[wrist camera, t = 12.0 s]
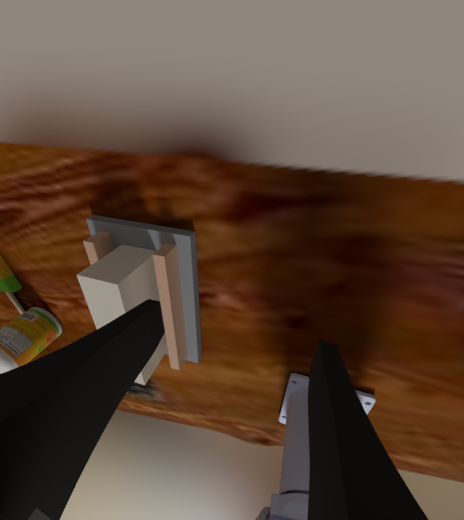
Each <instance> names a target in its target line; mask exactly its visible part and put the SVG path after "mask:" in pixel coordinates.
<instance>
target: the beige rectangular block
mask: <svg viewBox="0 0 464 520" xmlns="http://www.w3.org/2000/svg"><path fill="white" fill-rule="evenodd" d="M155 252H156V251H154V250H149V249H143V248H138V247H133V246H128V245H121V246H119V247H118V248H116V249H115V250H113V251H112V252H110V253H109V254H107V255H106V256H104V257H103V258H101V259H100V260H98V261H97V262H95V263H94V264H92V265H91V266H89V267H88V268H86V269H85V270H83V271H82V272H80V273H79V274H77V277H78V280H79V283H80V285H81V288H82V291H83V294H84V296H85V299H86V302H87V304H88V307H89V310H90V312H91V315H92V318H93V320H94V323H95V326H96V328H97V329H99V328H101V327H103V326H104V325H106V324H108V323H109V322H111V321H113V320H114V319H116V318H118V317H119V316H121V315H123V314H124V313H126V312H128V311H129V310H131V309H132V308H134V307H136V306H137V305H139V304H141V303H142V302H144V301H146V300H147V299H152V300H156V301H160V297H159V291H158V285H157V278H156V272H155V266H154V260H153V254H154V253H155ZM160 304H161V303H160ZM161 310H162V309H161ZM162 317H163V316H162ZM163 323H164V322H163ZM164 329H165V328H164ZM167 350H168V347H167V340H166V334H165V333H164V335H163V337H162V339H161V341H160V343H159V345H158V347H157V348H156V350H155V352H154V354H153V355H152V357H151V358H150V360H149V361H148V362H147V364H146V365H145V367H144V368H143V370H142V371H141V373H140V374H139V375H138V377H137V378H136V380H135V381H134V382H137V383H140V384H143V385H145V384H146V383H147V381H148V380H149V378H150V376H151V375H152V373H153V372H154V370H155V368H156V367H157V365H158V364H159V362H160V361H161V359H162V357H163V356H164V354H165V353H166V351H167Z"/></svg>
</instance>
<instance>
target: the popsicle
mask: <svg viewBox="0 0 464 520" xmlns="http://www.w3.org/2000/svg"><path fill="white" fill-rule="evenodd" d="M21 288H22V286H21V285H20V283H19V282H18V280H17V279H16V277H15V276H14V274H13V273H12V271H11V270H10V268H9V267H8V265H7V264H6V262H5V261H4V259H3V258H2V256H1V255H0V291H1V292H5V293H6V294H7V296H8V297H9V298H10V300H11V301H12V303H13V304H14V305H15V307H16V308H17V310H18V311H19V312H20V314H23V313H24V312H25V310H24V309H23V307H22V306H21V304H20V303H19V302H18V300H17V299H16V297H15V296H14V294H13V292H16V291H18V290H19V289H21Z"/></svg>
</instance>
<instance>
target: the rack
mask: <svg viewBox="0 0 464 520" xmlns="http://www.w3.org/2000/svg"><path fill="white" fill-rule="evenodd" d="M86 220H87V223H88V227H89V230H90V233H91V237H89V238H88V239H86V240H84V241H83V242H84V245H85V249H86V252H87V255H88V258H89V261H90V264H91V265H92V264H94V263H95V262H97V261H98V260H100V259H101V258H103V257H104V256H106V255H107V254H109V253H110V252H112V251H113V250H115V249H116V248H118V247H119V246H121V245H128V246H133V247H138V248H143V249H149V250H154V251H156V252H155V253H154V254H153V260H154V266H155V272H156V278H157V285H158V291H159V297H160V303H161V309H162V316H163V322H164V328H165V334H166V340H167V347H168V350H167V351H166V353H165V354H168V355H169V359H170V365H171V368H173V369H176V370H180V368H181V367H182V365H183V363H184V361H185V360H188V361H191V362H195V363H199V361H200V359H201V357H202V351H201V331H200V311H199V292H198V272H197V252H196V232H195V231H190V230H184V229H178V228H172V227H165V226H159V225H153V224H147V223H141V222H135V221H129V220H122V219H116V218H110V217H104V216H98V215H94V216H91V217H89V218H87V219H86Z"/></svg>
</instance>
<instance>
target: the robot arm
mask: <svg viewBox="0 0 464 520" xmlns="http://www.w3.org/2000/svg"><path fill="white" fill-rule="evenodd" d="M164 333H165V329H164V323H163V317H162V310H161V304H160V301H156V300H152V299H147V300H146V301H144V302H142V303H141V304H139V305H137V306H136V307H134V308H132V309H131V310H129V311H128V312H126V313H124V314H123V315H121V316H119V317H118V318H116V319H114V320H113V321H111V322H109V323H108V324H106V325H104V326H103V327H101V328H99V329H97V330H95V331H93V332H92V333H90V334H88V335H86V336H84V337H83V338H81V339H79V340H77V341H75V342H73V343H71V344H69V345H67V346H65V347H63V348H61V349H59V350H57V351H55V352H53V353H50V354H48V355H46V356H44V357H41V358H39V359H37V360H34V361H32V362H29V363H27V364H24V365H22V366H20V367H17V368H15V369H12V370H10V371H7V372H4V373H2V374H0V520H60V517H61V515H62V513H63V511H64V509H65V507H66V504H67V502H68V500H69V498H70V496H71V494H72V492H73V489H74V488H75V485H76V483H77V481H78V479H79V477H80V475H81V473H82V471H83V469H84V467H85V465H86V463H87V461H88V459H89V458H90V456H91V453H92V452H93V450H94V448H95V446H96V444H97V442H98V441H99V439H100V437H101V435H102V433H103V431H104V429H105V428H106V426H107V424H108V422H109V420H110V419H111V417H112V415H113V413H114V412H115V410H116V408H117V407H118V405H119V403H120V402H121V400H122V399H123V397H124V396H125V394H126V393H127V391H128V390H129V388H130V387H131V386H132V384H133V383H134V381H135V380H136V378H137V377H138V375H139V374H140V373H141V371H142V370H143V368H144V367H145V365H146V364H147V362H148V361H149V360H150V358H151V357H152V355H153V354H154V352H155V350H156V348H157V347H158V345H159V343H160V341H161V339H162V337H163V335H164ZM375 401H376V400H375V397H374V396H373V395H371V394H368V393H365V392H361V391H357V390H355V389H354V386H353V384H352V382H351V379H350V377H349V375H348V372H347V370H346V367H345V365H344V362H343V360H342V357H341V354H340V351H339V348H338V346H337V345H336V344H332V343H328V342H324V341H320V342H319V345H318V348H317V351H316V354H315V357H314V360H313V363H312V366H311V369H310V373H309V377H307V376H304V375H300V374H297V373H292V374H291V375H290V378H289V381H288V385H287V389H286V393H285V396H284V400H283V404H282V408H281V412H280V415H279V421H280V422H281V423H283V424H286V428H285V438H284V449H283V459H282V470H281V479H280V490H279V494H272V497H271V505H270V507H265V508H263V510H262V511H261V512H260V514H259V516H258V517H257V518H256V520H428V518H427V517H426V515H425V514H424V512H423V511H422V509H421V508H420V506H419V505H418V503H417V502H416V500H415V499H414V497H413V495H412V494H411V492H410V490H409V489H408V487H407V486H406V484H405V482H404V481H403V479H402V477H401V476H400V474H399V473H398V471H397V469H396V467H395V466H394V464H393V462H392V460H391V459H390V457H389V455H388V454H387V452H386V450H385V448H384V446H383V445H382V443H381V441H380V439H379V437H378V435H377V434H376V432H375V430H374V428H373V426H372V424H371V422H370V420H369V418H368V416H367V414H368V413H369V411H370V410H371V408H372V406H373V405H374V403H375Z"/></svg>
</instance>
